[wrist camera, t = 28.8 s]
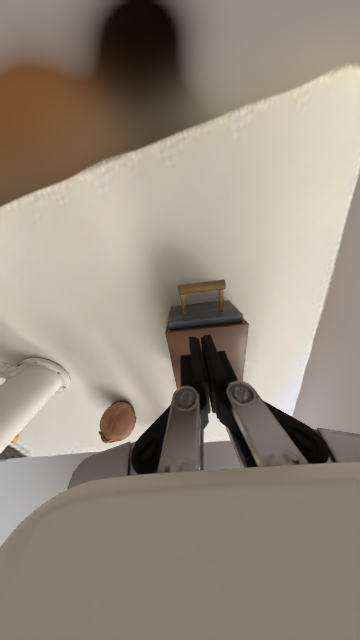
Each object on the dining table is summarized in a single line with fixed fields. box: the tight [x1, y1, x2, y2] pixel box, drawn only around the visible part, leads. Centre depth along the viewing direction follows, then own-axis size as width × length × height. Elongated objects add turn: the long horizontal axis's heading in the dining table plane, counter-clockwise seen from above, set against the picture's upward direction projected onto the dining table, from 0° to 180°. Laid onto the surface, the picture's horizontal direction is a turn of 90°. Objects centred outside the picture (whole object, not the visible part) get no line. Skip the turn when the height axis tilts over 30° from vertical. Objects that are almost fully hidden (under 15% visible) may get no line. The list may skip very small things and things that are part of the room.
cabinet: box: [166, 311, 249, 389], centre depth 27 cm, size 14×12×8 cm
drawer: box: [169, 280, 243, 329], centre depth 25 cm, size 18×11×7 cm, turn 7°
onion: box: [99, 401, 136, 443], centre depth 39 cm, size 10×9×10 cm
